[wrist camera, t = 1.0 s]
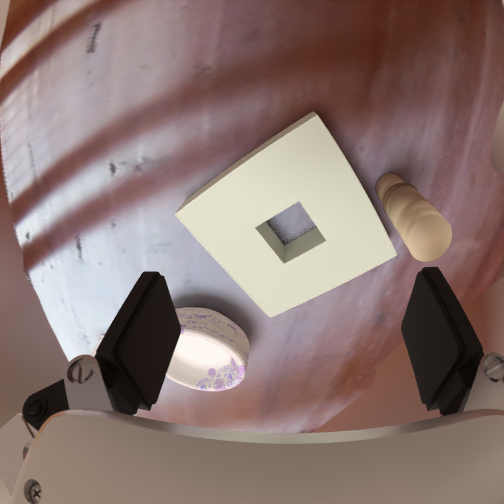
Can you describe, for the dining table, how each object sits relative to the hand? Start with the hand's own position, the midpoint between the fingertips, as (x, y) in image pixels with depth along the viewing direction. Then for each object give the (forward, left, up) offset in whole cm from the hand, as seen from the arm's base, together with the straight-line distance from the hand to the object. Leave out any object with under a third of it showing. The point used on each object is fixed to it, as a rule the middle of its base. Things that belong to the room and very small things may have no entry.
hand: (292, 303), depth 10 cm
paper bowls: (+26, +16, -24) cm, 39 cm away
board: (+4, +7, -23) cm, 25 cm away
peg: (-8, +10, -23) cm, 27 cm away
